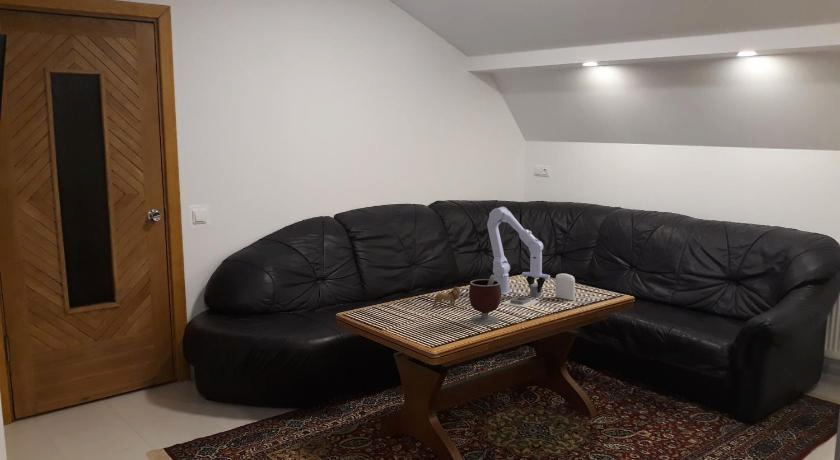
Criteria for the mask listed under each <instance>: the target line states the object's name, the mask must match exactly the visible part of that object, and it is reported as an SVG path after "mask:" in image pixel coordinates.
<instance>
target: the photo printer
mask: <svg viewBox="0 0 840 460" xmlns="http://www.w3.org/2000/svg"><path fill="white" fill-rule="evenodd" d="M555 298H559V299H563V300H568V301H574V300H575V299H576V279H575V276H573V275H572V274H568V273H558V274H556V276H555Z"/></svg>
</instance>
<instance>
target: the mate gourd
mask: <svg viewBox="0 0 840 460" xmlns="http://www.w3.org/2000/svg"><path fill="white" fill-rule="evenodd" d="M492 275H493V276H492V277H491V276H490V277H491V278H490V277H489V279H486V278H483V279H474V280H471V281H470V282H469V283H470V284H469V289H468V298H469V303H470V306H471V307H472V308H473V310H475V311H477V312H479V313H481V314H480V315H476V316H473V317H471V318H470V321H471V323H473V324H477V325H483V326H484V325H486V326H487V325H488V326H489V325H495V324H498V323H499V322H500V318H499V317H497V316H493V315H489V313H491V312H494V311H496V310H497V308H498V307H499V306H500V305H501V298H502V294H501V287H500V282H499V281H496V280H494V279H495V277H496V275H497V273H495V274H494V273H493V274H492Z"/></svg>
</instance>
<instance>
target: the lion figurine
mask: <svg viewBox="0 0 840 460" xmlns="http://www.w3.org/2000/svg"><path fill="white" fill-rule="evenodd" d="M461 292H462V291H461V287H459V286H455V287H453V288H452V290H450V291H449V292H448V293H443V292H439V293H437V294H436V295H435V297H434V301H433V304H432V308H434V307H437V303H438V302H439V303H438V305H439V307H440V308H442V309H444V308H445V307H444V306H443V305H442V303H443V301H446V302H449V305H450V306H452V307H453V308H456V305H455V303H456V301H457V300H458V299H459V298H460V296H461Z"/></svg>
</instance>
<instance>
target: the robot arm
mask: <svg viewBox="0 0 840 460" xmlns="http://www.w3.org/2000/svg"><path fill="white" fill-rule="evenodd" d="M488 215H489V217H488V220H487V222H486V223H487V225H486V226H487V227H486V228H487V232H488V235H489V240H490V244H491V249H492V254H493V262H492V264H493V265H492V266H493V267H492V273H493V274H491V275H490V277H489V279H490V278H491V277H492V276H493V275H494V274H495V273H497V275H496V277H495V279H494V280H496V281H499V282H500V287H501V295H503V296H504V295H507V294H511V292H512V293H513V291H512V290H509V288H510V287H509V284H510V283H509V279H510V278H509V277H510V276H509V275H510V274H509V272H510V270H511V265H510V263H509V262H508V258H507V257H506V256H505V254H504V247H503V243H502V240H501V235H500V230H499V229H500V228H499V226H500V224H501V223H502V222H503V223H508V224H509V225H510V226H511V227H512V228H513V230H515V231H516V232H517V233H518V235H519V238H520V240H521V242H523V243H524V244H525V246H527V247H528V251H529V252H530V257H529V258H530V259H529V260H530V261H529V262H530V263H529V265H530V267H529V271H528V272H527V271H523V272H522V274H521V275H522V277H526V278H525V279H526V282H527V284H528V287H529V288H530V285H532V284H534V283H535V279H536V283H537V284H538V293H540V292H541V293H542V290H543V289H542V288H543V286H544V283H545V282H546V280H548V281H549V280H550V279H551V275H550V274H546V273H543V272H542V271H543V252H542V251H543V250H544V243H543V242H542V241H541V240H539V239H538V238H537V237H535V236H534V235H533V234H532V233H533V232H532V231H531V230H529V229H525V228H524V227H523V226H522V224H520V222H519V221H518V220H517V219H516V217H515V215H513V213H512V212H511V211H510V210H509V209H508V208H507V207H505V206H499V207H496V208H493V209H492V210H491V211H490V212H489V214H488Z"/></svg>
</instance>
